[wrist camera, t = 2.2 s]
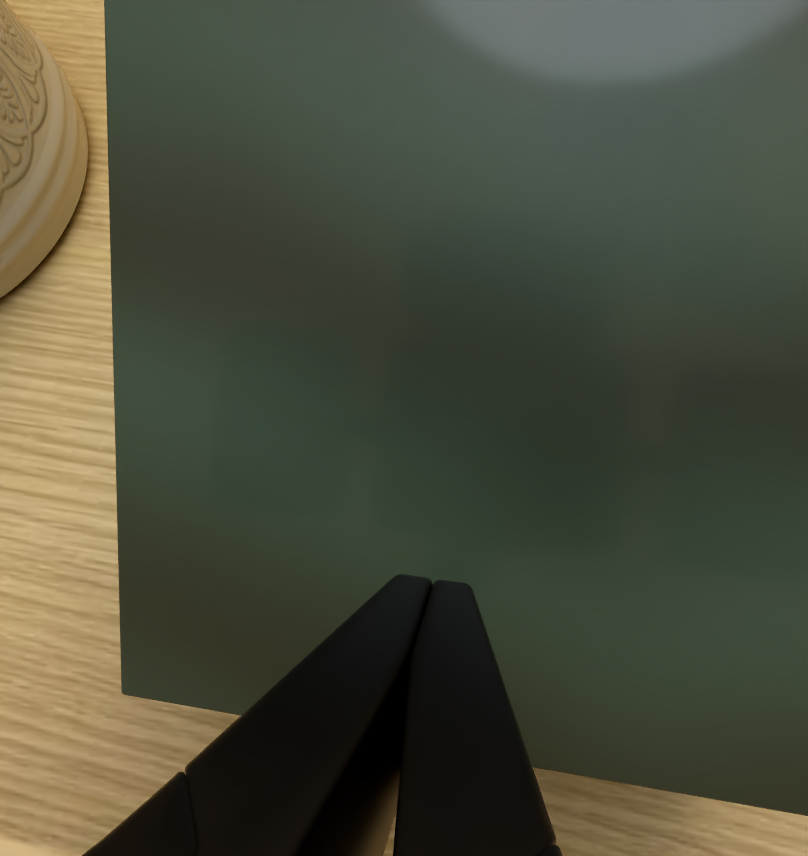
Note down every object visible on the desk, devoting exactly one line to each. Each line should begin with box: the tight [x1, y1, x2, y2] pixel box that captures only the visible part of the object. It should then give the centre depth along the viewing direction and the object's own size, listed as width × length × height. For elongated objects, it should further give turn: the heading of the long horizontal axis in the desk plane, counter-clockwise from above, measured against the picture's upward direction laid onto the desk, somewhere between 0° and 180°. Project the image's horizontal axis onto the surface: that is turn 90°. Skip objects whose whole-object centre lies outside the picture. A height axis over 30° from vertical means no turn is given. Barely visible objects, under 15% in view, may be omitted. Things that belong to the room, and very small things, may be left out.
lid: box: [104, 0, 808, 816], centre depth 12 cm, size 15×13×1 cm
